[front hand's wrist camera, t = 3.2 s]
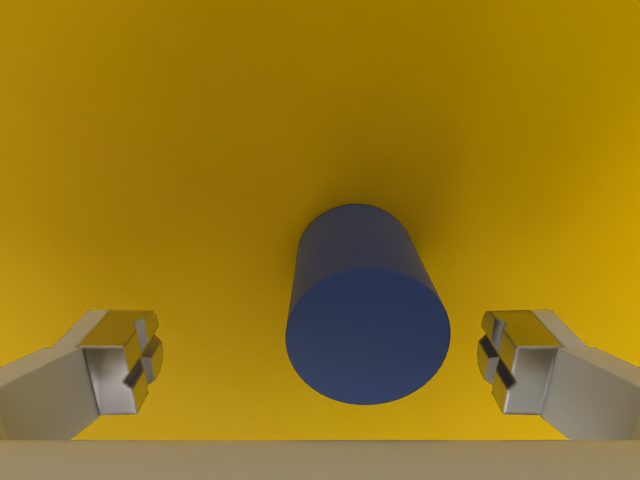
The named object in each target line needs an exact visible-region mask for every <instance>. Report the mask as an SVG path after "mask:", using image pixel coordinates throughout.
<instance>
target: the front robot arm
mask: <svg viewBox="0 0 640 480" xmlns="http://www.w3.org/2000/svg"><path fill="white" fill-rule="evenodd" d="M158 326H159V325H158V320H157V315H156V314H155V312H154V311H149V310H111V309H109V310H90V311H88V312H87V313H86V314H85V315H84V316H83V317H82V318H81V319H80V320H79V321H78V322H77V323H76V324H75V325H74V326H73V327H72V328H71V329H70V330H69V331H68V332H67V333H66V334H65V335H64V336H63V337H62V338H61V339H60V340H59V341H58V342H57V343H56V344H55V345H54V346H53V347H52V348H43V349H41V350H38V351H36V352H34V353H32V354H29V355H27V356H25V357H23V358H20V359H18V360H16V361H14V362H11V363H9V364H7V365H5V366H2V367H0V480H640V367H637V366H635V365H633V364H631V363H629V362H626V361H624V360H622V359H620V358H617V357H615V356H613V355H611V354H608V353H606V352H604V351H602V350H599V349H597V348H588V347H587V346H586V345H585V344H584V343H583V342H582V341H581V340H580V339H579V338H578V337H577V336H576V335H575V334H574V333H573V332H572V331H571V330H570V329H569V328H568V327H567V326H566V325H565V324H564V323H563V322H562V321H561V320H560V318H559V317H558V316H557V315H556V314H555V313H554V312H553V311H550V310H547V309H543V310H511V311H486V312H485V314H484V316H483V319H482V325H481V326H482V328H483V330H484V331H485V333H486V334H485V335H484V336H483V338H482V339H481V340H480V341H479V343H478V350H477V357H478V365H479V369H480V372H481V374H482V376H483V378H484V380H486V381H487V382H489V383H490V384H492V385H493V387H492V395H493V397H494V398H495V400H496V402H497V404H498V406H499V408H500V409H501V411H502V413H503V414H520V415H541V417H542V418H543V419H544V420H545V421H547V422H548V423H549V424H551V425H552V426H553V427H554V428H556V429H557V430H558V431H559V432H561V433H562V434H563V435H565V436H566V437H567V438H568V439H570V440H70V439H72V438H73V437H74V436H76V435H77V434H78V433H79V432H81V431H82V430H83V429H84V428H86V427H87V426H88V425H90V424H91V423H92V422H93V421H95V420H96V419H97V418H99V415H120V414H137V413H138V411H139V409H140V408H141V406H142V404H143V402H144V400H145V398H146V397H147V395H148V387H147V385H148V384H150V383H151V382H153V381H154V380H156V378H157V376H158V374H159V372H160V369H161V364H162V360H163V349H162V342H161V341H160V340H159V339H158V338H157V336H156V335H155V334H154V333H155V331H156V330H157V328H158Z"/></svg>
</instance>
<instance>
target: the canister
mask: <svg viewBox="0 0 640 480" xmlns="http://www.w3.org/2000/svg"><path fill="white" fill-rule="evenodd" d="M449 343H450V323H449V318H448V315H447V312H446V310H445V308H444V306H443V304H442V302H441V300H440V298H439V296H438V294H437V292H436V290H435V288H434V286H433V284H432V282H431V280H430V278H429V276H428V274H427V272H426V270H425V268H424V266H423V264H422V262H421V260H420V258H419V256H418V254H417V251H416V249H415V247H414V245H413V243H412V241H411V239H410V237H409V235H408V233H407V231H406V230H405V228H404V227H403V226H402V224H401V223H400V222H399V221H398V220H397V219H396V218H395V217H393V216H392V215H391V214H389V213H387V212H386V211H384V210H382V209H379V208H377V207H373V206H370V205H363V204H351V205H344V206H340V207H336V208H334V209H331V210H329V211H327V212H325V213H323V214H322V215H321V216H319V217H318V218H317V219H315V220H314V221H313V222H312V223H311V224H310V226H309V227H308V228H307V229H306V231H305V233H304V234H303V236H302V238H301V241H300V244H299V247H298V254H297V260H296V267H295V274H294V281H293V287H292V294H291V301H290V307H289V314H288V321H287V328H286V348H287V353H288V356H289V359H290V361H291V363H292V365H293V367H294V369H295V370H296V372H297V373H298V375H299V376H300V377H301V378H302V379H303V380H304V382H305V383H306V384H308V385H309V386H310V387H311V388H313V389H314V390H316V391H317V392H319V393H320V394H322V395H324V396H326V397H328V398H331V399H334V400H336V401H340V402H344V403H348V404H356V405H374V404H382V403H387V402H391V401H394V400H398V399H400V398H403V397H405V396H407V395H409V394H411V393H413V392H415V391H416V390H418V389H419V388H421V387H422V386H423V385H425V384H426V383H427V382H428V381H429V380H430V379H431V378H432V377H433V376H434V375H435V374H436V373H437V371H438V370H439V368H440V367H441V365H442V363H443V361H444V359H445V357H446V354H447V351H448V348H449Z"/></svg>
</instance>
